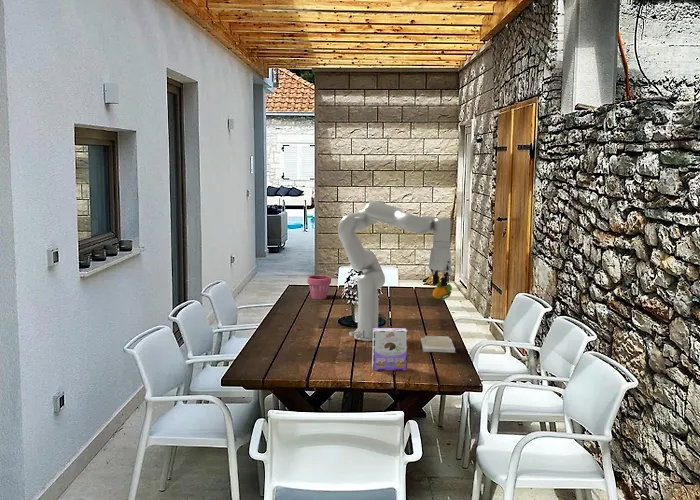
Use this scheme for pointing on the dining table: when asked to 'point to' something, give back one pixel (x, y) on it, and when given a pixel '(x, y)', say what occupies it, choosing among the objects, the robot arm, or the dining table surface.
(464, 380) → the dining table surface
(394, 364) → the candy box
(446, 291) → the corn
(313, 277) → the plant pot
